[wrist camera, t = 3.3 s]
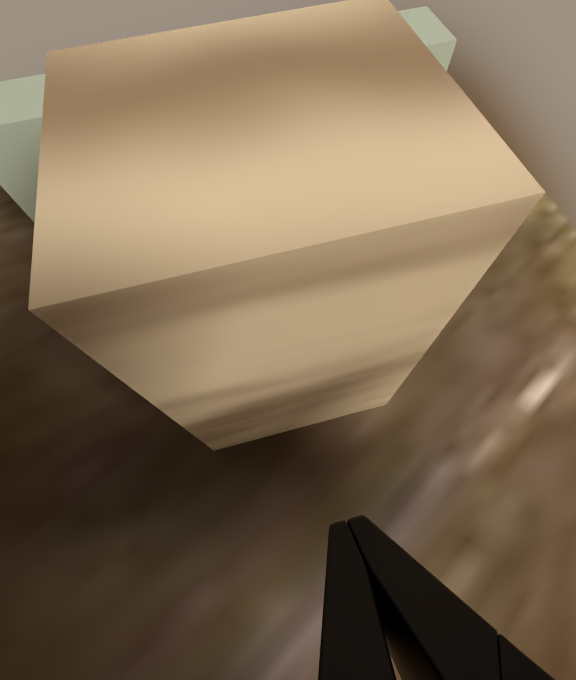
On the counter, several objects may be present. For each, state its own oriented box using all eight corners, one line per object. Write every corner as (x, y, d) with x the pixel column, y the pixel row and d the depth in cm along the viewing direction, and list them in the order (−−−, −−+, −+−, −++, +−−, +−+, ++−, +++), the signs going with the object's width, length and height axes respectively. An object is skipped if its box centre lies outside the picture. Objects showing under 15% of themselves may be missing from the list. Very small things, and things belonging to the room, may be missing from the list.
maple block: (386, 404, 16) (545, 191, 6) (213, 450, 16) (27, 310, 5) (338, 282, 20) (383, -7, 9) (192, 317, 19) (46, 51, 8)
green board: (406, 194, 22) (456, 39, 15) (75, 267, 21) (-47, 133, 13) (388, 162, 23) (426, 6, 16) (75, 229, 22) (-36, 87, 15)
